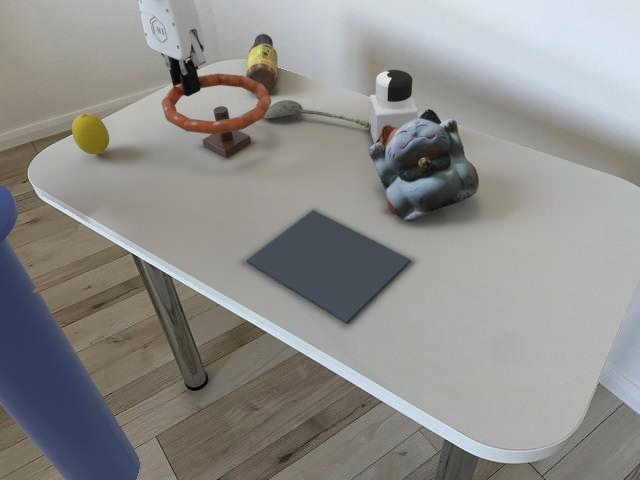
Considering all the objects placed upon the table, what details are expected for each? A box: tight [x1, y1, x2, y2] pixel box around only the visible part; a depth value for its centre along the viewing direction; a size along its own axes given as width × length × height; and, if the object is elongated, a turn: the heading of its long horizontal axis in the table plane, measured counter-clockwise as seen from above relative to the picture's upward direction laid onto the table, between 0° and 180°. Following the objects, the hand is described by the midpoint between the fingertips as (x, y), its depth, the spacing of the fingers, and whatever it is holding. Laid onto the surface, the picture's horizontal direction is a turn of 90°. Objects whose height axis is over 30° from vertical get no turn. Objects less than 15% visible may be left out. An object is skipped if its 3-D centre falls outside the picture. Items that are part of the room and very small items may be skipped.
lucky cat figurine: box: [368, 108, 480, 221], centre depth 84 cm, size 15×12×14 cm
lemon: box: [71, 112, 110, 156], centre depth 95 cm, size 6×6×8 cm
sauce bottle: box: [245, 33, 279, 95], centre depth 117 cm, size 6×6×20 cm
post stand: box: [201, 105, 252, 159], centre depth 97 cm, size 6×6×7 cm
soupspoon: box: [262, 99, 371, 132], centre depth 103 cm, size 22×3×7 cm
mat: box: [246, 209, 411, 324], centre depth 77 cm, size 14×18×1 cm
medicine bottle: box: [369, 69, 419, 144], centre depth 96 cm, size 7×7×12 cm
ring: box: [161, 73, 272, 135], centre depth 93 cm, size 18×18×2 cm
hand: (187, 90), depth 97 cm, fingers closed on ring, 2 cm apart
